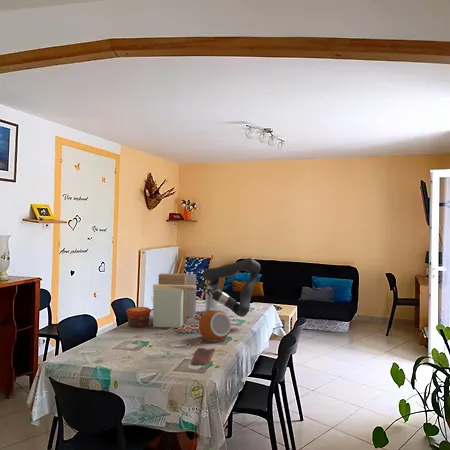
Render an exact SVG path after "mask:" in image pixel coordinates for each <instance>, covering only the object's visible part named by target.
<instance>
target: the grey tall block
mask: <svg viewBox="0 0 450 450" xmlns="http://www.w3.org/2000/svg"><path fill="white" fill-rule="evenodd" d="M186 274H187V285H196V286H197V274H196V273H195V274H193V273H186ZM196 302H197V289H196V290H187V299H186V318H195V316H197V315H196V314H197V311H196V310H197V304H196Z"/></svg>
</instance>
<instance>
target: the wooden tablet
mask: <svg viewBox="0 0 450 450" xmlns="http://www.w3.org/2000/svg"><path fill="white" fill-rule="evenodd" d="M215 352H216V349H215V348H208V349H207V348H204V347H198V348H197V349H196V350H195V352H194V354H193V356H192V359H191V362H190V365H191V366H197V367H198V366H199V367H200V366H201V367H202V366H208V365H209V364H210V362H211V361H212V358H213V356H214V354H215Z"/></svg>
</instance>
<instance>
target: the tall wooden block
mask: <svg viewBox="0 0 450 450" xmlns="http://www.w3.org/2000/svg"><path fill="white" fill-rule="evenodd" d="M187 274H188V273H164V272H163V273H159V274H158V284H164V285H187ZM186 299H187V290H183V324H186V323H187V322H188V321H189V317H186Z"/></svg>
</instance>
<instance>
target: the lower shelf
mask: <svg viewBox="0 0 450 450" xmlns="http://www.w3.org/2000/svg"><path fill="white" fill-rule="evenodd" d="M152 291H153V295H152V296H153V300H152V302H153V304H152V314H153V315H152V316H153V317H152V319H153V320H152V324H153V325H152V327H161V328H181V327H182V326H183V325H184V323H183V290H172V289H153V290H152Z"/></svg>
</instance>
